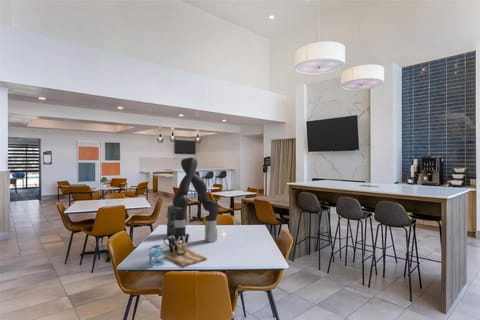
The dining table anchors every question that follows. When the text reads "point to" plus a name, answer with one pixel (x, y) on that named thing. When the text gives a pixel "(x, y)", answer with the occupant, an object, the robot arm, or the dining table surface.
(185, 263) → the board
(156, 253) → the chair
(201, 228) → the dining table surface
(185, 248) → the sanding block
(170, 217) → the canister
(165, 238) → the coffee mug
